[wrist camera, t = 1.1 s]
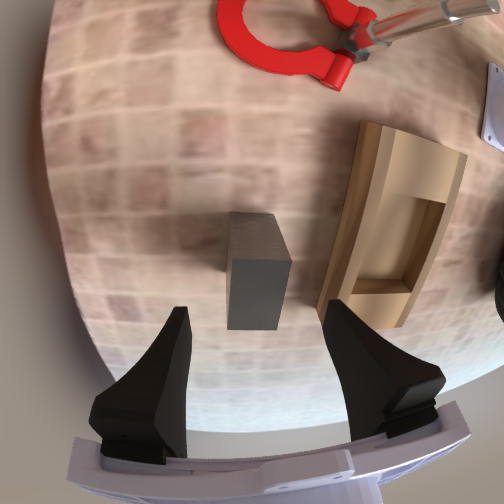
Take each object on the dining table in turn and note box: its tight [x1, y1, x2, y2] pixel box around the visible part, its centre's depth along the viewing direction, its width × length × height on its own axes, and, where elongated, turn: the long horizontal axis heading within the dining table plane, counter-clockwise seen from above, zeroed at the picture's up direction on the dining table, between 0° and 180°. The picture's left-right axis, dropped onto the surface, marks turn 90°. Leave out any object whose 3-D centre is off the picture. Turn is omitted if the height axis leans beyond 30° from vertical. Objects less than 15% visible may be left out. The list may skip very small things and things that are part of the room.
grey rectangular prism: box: [226, 212, 292, 330], centre depth 18 cm, size 3×5×6 cm, turn 174°
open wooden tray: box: [316, 120, 468, 330], centre depth 20 cm, size 8×16×3 cm, turn 174°
